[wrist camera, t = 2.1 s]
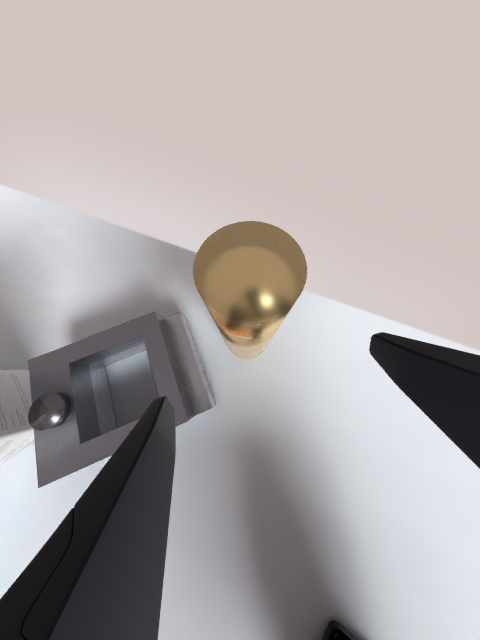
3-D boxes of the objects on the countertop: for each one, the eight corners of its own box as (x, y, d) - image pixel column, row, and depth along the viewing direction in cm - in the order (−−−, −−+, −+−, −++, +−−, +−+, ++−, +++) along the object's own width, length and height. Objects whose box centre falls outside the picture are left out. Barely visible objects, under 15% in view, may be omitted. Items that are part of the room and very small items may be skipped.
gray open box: (186, 318, 20) (169, 302, 15) (216, 404, 17) (206, 413, 13) (72, 363, 19) (19, 360, 14) (87, 461, 16) (28, 493, 12)
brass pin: (274, 333, 19) (327, 252, 7) (252, 366, 18) (268, 344, 6) (241, 312, 20) (235, 205, 7) (219, 344, 19) (170, 281, 7)
